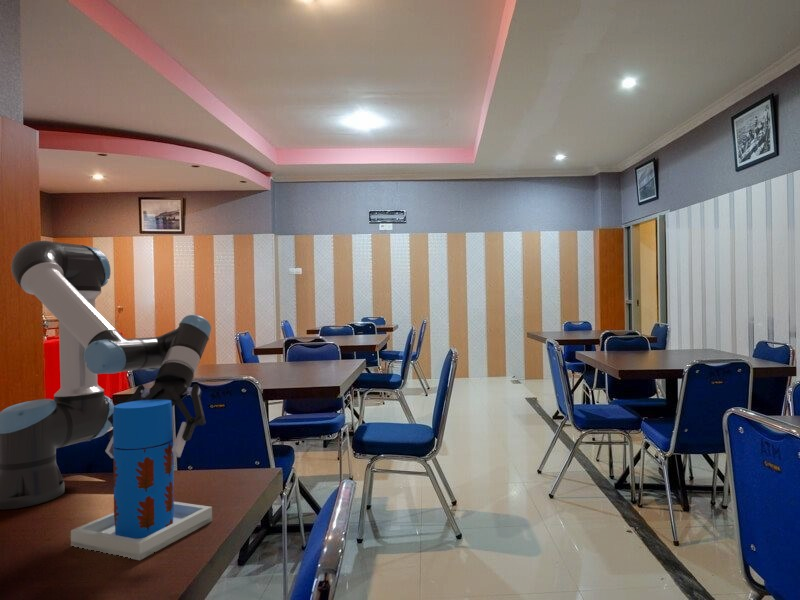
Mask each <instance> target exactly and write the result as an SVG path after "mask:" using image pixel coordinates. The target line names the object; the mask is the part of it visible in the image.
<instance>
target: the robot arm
mask: <svg viewBox="0 0 800 600" xmlns="http://www.w3.org/2000/svg"><path fill="white" fill-rule="evenodd" d="M108 259H109V258H108V257H107V255H106V254H105V253H103V251H102V250H100V249H99V248H96V247H93V246H88V245H85V244H76V243H75V244H74V243H66V242H65V243H64V242H57V241H51V240H50V241H49V240H35V241H32V242H29V243H26V244H24V245H23V246H22V247H20V248H19V249H18V250H17V251H16V252H15V254H14V255H13V258H12V260H11V266H10V270H11V274H12V276H13V278H14V281H15V282H16V283H17V285H18V286H19V287H20V288H21V289H22V291H24V292H25V293H26V294H28V295H33V296H34V297H36V298H37V299H38V300H39V301H40V302H41V304H42V305H43V306H45V308H46V309H47V310H48V311H49V312H50V313H51V314H52V315H53V316H54V317H55V318H56V319H57V320H58V334H59V339H58V340H59V371H60V372H59V373H60V381H59V382H60V388H59V389H58V390H57V391H56V392H55V393H54V394H53V399H51V398H41V399H40V398H39V399H34V400H29V401H24V402H20V403H16V404H13V405H10V406H8V407H6V408H4V409H2V410H1V411H0V510H1V511H3V510H12V509H13V510H14V509H15V510H16V509H22V508H26V507H31V506H36V505H39V504H43V503H47V502H49V501H50V502H51V501H53V500H55V499H57V498H59V497H60V496H62V495H63V494H64V493H65V492H66V491H65V488H66V487H65V486H66V485H65V481H64V478H63V476H62V474H61V471H60V469H59V466H58V464H57V449H59V448H64V447H67V446H70V445H75V444H78V443H83V442H90V441H92V440H94V439H97V438H100V437H103V436H104V435H105V434H107V433H108V431H109V430H110V429H111V427H113V411H114V406H115V404H114V402H113V401H112V399H111V398H110V397H109V396H107V395H105V389H104V388H102V387H101V386H100V385H99V384H98V375H102V374H105V375H106V374H107V375H111V374H112V375H113V374H117V373H122V372H123V373H124V372H130V371H138V370H145V371H146V372H153V371H156V370H158V372H157V374H156V376H155V380H154V384H153V385H152V386H151V387H145V386H144V384H140V385H138V386H137V388H136V390H135V391H134V392H133V394H131V396H129V397H128V398H127V399H126V400H125V401H124V402H123V403H126V402H132V401H140V400H153V399H165V400H171V403H172V408H173V407H174V406H176V405H177V407H178V408H179V410H180V411H181V413H182V415H183V417H184V419H185V420H186V421H182V422H181V425H180V427H179V430H178V433H177V434H176V439H175V440H174V442H173V448H172V451H173V455H175V458H181V456H182V453H183V450H184V447H185V445H186V442H189V441H190V440H191V439H192V435H193V434H194V430H195V428H196V427H197V426H204V425H206V423H207V422H206V418H205V413H204V409H203V405H202V401H201V397H202V392H203V391H202V390H201V388H200V386H199V385H198V384H197V383H194V384H193V385H192V382H193V379H194V378H195V374H196V372H197V369H198V366H199V363H200V362H201V361H200V360H201V358H202V356H203V354H204V351H205V349H206V346H207V344H208V341H209V340H210V336H211V331H212V325H211V323H210V321H208V320H207V319H206V318H205V317H204V316H201V315H198V314H188V315H186V316H184V317H183V318H182V320H181V321H180V322H179V324H178V327H177V328H176V329H173V330H171V331H169V332H167V333H164V334H161V335H158V336H154V337H136V338H134V337H133V338H127V337H124V336H123V334H122V333H120V332H119V331H118V330H117V329H116V328H115V327H114V326H113V325H112V324H111V323H110V322H109V321H108V320H107V319H106V318H105V316H103V315H102V314H101V312H100V311H98V310H97V309H96V298H97V297H99V296H100V294H102V288H103V287H105V286H106V285H107V284H108V282H109V279H110V277H111V265H110V261H109V260H108ZM191 385H192V387H191ZM188 395H190V397H191V400H192V403H193V409H194V415H195V417H193V416H192V415H191V413H190V411H189V410H188V408H187V407H186V405H185V404H184V401H183V399H184V398H185V397H187V396H188ZM109 440H110V441H109V442H108V444H107V446H106V449H105V450H104V451H105V453H106V454H107V455H108V456H109V457H110V459H113V428H112V430H111V432H110V434H109Z"/></svg>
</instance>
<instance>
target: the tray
mask: <svg viewBox="0 0 800 600" xmlns="http://www.w3.org/2000/svg"><path fill="white" fill-rule="evenodd" d="M211 522H213V506H207V505H201V504H193V503H187V502H181V501H174V514H173V524H171V525H169V526H167V527H165V528H163V529H161V530H159V531H157V532H155V533H153V534H151V535H149V536H147V537H145V538H139V539H134V538H128V537H123V536H118V535H116V534H115V521H114V512H111V513H109V514H107V515H105V516H102V517H100V518H97V519H95V520H93V521H90V522H87V523H86V524H83V525H80V526H78V527H75V528H73V529H71V530H70V547H72V546H74V547H73V548H77V547H79V548H78V549H82V548H84V549H83V550H87V549H88V550H87V551H91V550H94V551H93V552H96V551H100V552H99V553H101V552H103V554H106V553H108V554H107V555H111V554H113V555H112V556H116V555H119V556H118V557H120V556H123V557H122V558H125V557H128V558H127V559H130V558H131V560H136V561H141V560H143V559H145V558H147V557H149V556H151V555H153V554H154V552H155V553H157V552H158V551H160V550H162V549H164V548H165V547H167V546H169V545H171V544H172V543H175V542H177V541H178V540H180V539H182V538H184V537H185V536H188V535H189V534H191V533H193V532H195V531H197V530H198V529H200V528H203V527H204V526H206V525H208V524H210V523H211Z"/></svg>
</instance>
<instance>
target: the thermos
mask: <svg viewBox="0 0 800 600" xmlns="http://www.w3.org/2000/svg"><path fill="white" fill-rule="evenodd" d="M173 421H174V420H173V407H172V403H171V400H165V399H153V400H152V399H151V400H140V401H132V402H126V403H124V402H121V403H118V404H116V405H115V404H114V411H113V426H112V429H113V458H112V460H113V463H112V464H113V513H114V521H115V534H116V535H118V536H123V537H128V538H134V539H139V538H145V537H147V536H149V535H151V534H153V533H155V532H157V531H159V530H161V529H163V528H165V527H167V526H169V525H171V524H173V514H174V502H175V499H174V498H175V496H174V490H175V489H174V487H175V486H174V482H175V481H174V453H173V451H172V448H173V446H174V439H173V438H174V437H173V436H174V434H173V433H174V429H173V428H174V427H173V426H174V424H173Z"/></svg>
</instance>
